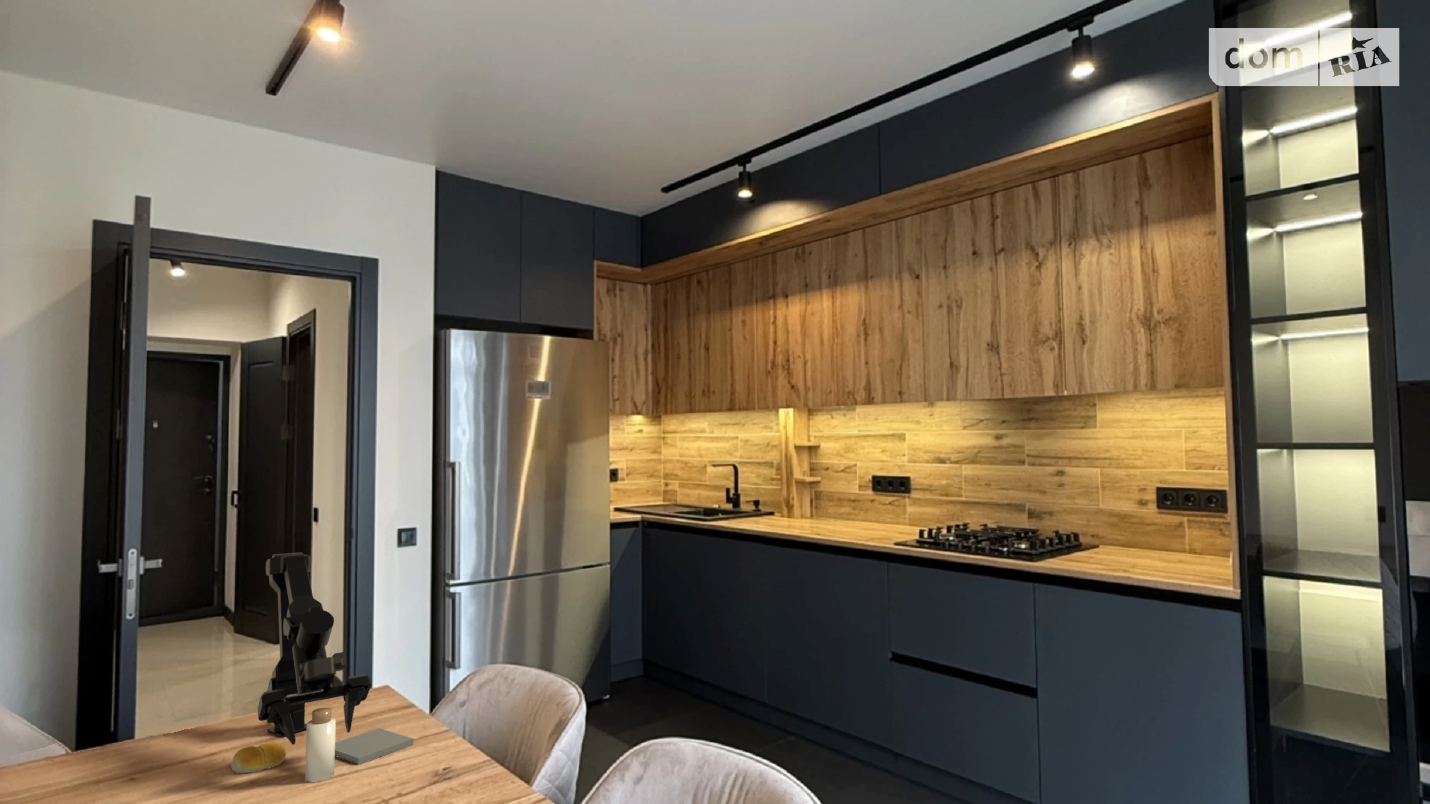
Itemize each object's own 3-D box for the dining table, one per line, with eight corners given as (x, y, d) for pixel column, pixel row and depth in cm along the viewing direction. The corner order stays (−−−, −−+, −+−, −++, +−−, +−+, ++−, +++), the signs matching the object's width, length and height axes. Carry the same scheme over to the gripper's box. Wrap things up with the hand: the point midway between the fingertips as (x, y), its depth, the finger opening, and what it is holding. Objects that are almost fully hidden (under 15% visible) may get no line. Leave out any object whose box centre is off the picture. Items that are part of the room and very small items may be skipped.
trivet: (323, 752, 150) (324, 746, 150) (378, 733, 160) (378, 728, 160) (358, 764, 143) (358, 758, 143) (413, 744, 153) (413, 738, 153)
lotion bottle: (299, 778, 137) (301, 711, 138) (325, 769, 141) (327, 704, 142) (314, 784, 135) (316, 716, 136) (339, 775, 139) (341, 708, 140)
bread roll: (291, 764, 145) (292, 742, 145) (238, 778, 138) (239, 756, 139) (277, 753, 150) (278, 732, 151) (226, 766, 144) (227, 745, 144)
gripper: (262, 648, 138) (270, 725, 128) (370, 632, 149) (384, 702, 140) (254, 682, 143) (261, 759, 134) (358, 665, 155) (372, 734, 145)
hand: (322, 737), depth 138 cm, fingers open, 9 cm apart
